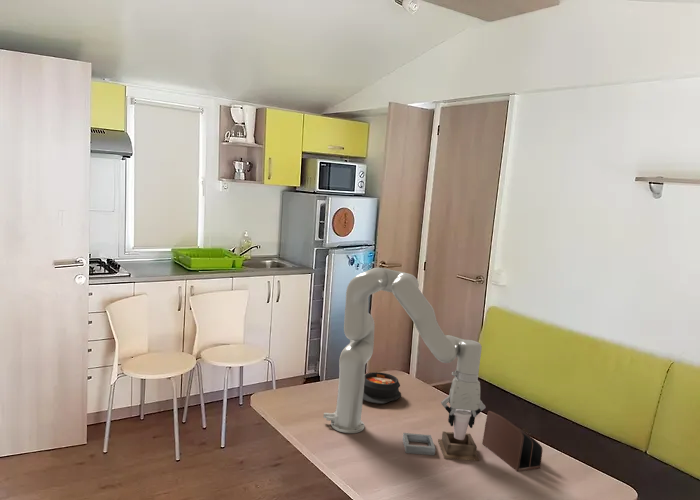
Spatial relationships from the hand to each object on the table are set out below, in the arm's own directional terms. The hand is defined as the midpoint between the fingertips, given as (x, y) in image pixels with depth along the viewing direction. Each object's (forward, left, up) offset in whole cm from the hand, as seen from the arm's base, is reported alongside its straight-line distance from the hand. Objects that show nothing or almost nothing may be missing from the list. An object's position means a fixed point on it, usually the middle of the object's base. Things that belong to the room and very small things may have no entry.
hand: (460, 425), depth 189 cm
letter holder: (+19, 0, -10) cm, 21 cm away
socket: (0, 0, -10) cm, 10 cm away
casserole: (-25, +44, -10) cm, 52 cm away
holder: (-14, 0, -10) cm, 17 cm away
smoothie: (0, 0, -5) cm, 5 cm away
